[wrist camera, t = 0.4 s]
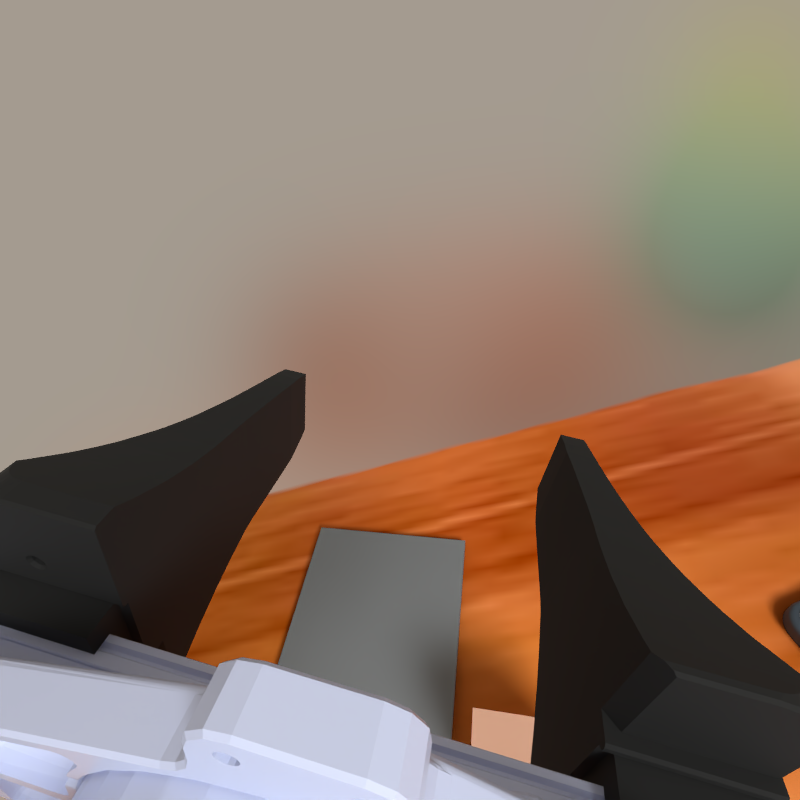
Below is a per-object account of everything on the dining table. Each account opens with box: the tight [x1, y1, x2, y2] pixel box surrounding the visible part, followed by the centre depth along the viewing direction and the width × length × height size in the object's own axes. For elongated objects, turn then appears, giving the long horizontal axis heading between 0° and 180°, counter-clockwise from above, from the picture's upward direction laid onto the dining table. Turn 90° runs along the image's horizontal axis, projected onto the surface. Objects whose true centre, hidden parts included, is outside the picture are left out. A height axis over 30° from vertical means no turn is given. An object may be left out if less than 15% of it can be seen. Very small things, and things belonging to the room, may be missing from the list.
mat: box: [278, 528, 465, 740], centre depth 26 cm, size 18×10×1 cm, turn 171°
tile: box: [471, 708, 535, 764], centre depth 21 cm, size 2×5×6 cm, turn 81°
